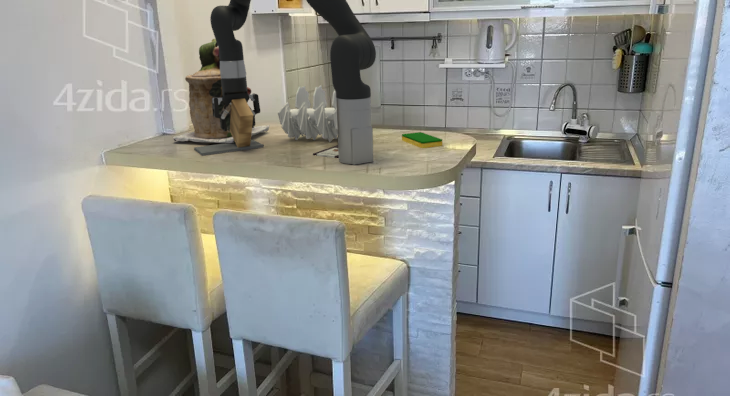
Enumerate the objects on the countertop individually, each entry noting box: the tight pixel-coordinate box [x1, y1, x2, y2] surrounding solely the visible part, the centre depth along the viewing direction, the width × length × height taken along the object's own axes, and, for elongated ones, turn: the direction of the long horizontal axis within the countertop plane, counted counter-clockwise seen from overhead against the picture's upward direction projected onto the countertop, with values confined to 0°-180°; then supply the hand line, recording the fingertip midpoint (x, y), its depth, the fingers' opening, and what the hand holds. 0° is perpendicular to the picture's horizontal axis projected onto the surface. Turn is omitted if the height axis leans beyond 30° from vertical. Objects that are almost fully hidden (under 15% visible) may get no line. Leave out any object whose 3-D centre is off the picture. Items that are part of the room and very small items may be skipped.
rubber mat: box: [193, 139, 265, 157], centre depth 170 cm, size 10×19×1 cm, turn 120°
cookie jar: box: [172, 38, 270, 144], centre depth 182 cm, size 25×25×32 cm
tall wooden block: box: [230, 98, 253, 147], centre depth 166 cm, size 4×8×12 cm
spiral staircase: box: [277, 84, 338, 143], centre depth 176 cm, size 18×18×25 cm
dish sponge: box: [401, 131, 443, 149], centre depth 170 cm, size 7×14×2 cm, turn 23°
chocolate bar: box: [312, 144, 339, 159], centre depth 163 cm, size 9×1×18 cm
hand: (238, 129), depth 170 cm, fingers open, 8 cm apart
